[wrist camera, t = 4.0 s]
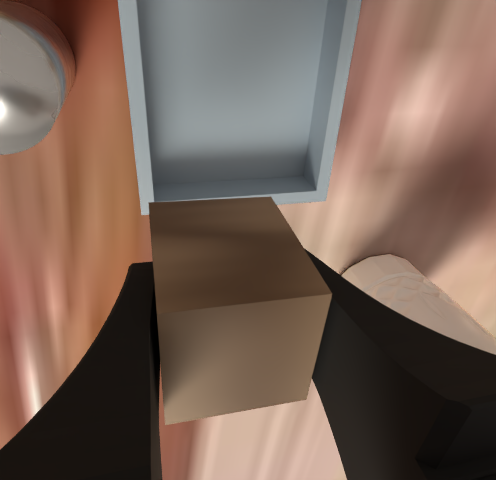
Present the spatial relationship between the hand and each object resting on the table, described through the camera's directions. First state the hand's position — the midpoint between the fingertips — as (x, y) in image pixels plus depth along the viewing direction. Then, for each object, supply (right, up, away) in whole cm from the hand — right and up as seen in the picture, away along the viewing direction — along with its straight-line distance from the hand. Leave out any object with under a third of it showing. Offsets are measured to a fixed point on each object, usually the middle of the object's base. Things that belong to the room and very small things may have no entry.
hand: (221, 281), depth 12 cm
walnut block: (-1, +1, +2) cm, 2 cm away
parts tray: (0, +10, +5) cm, 11 cm away
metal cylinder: (-8, +8, +3) cm, 12 cm away
